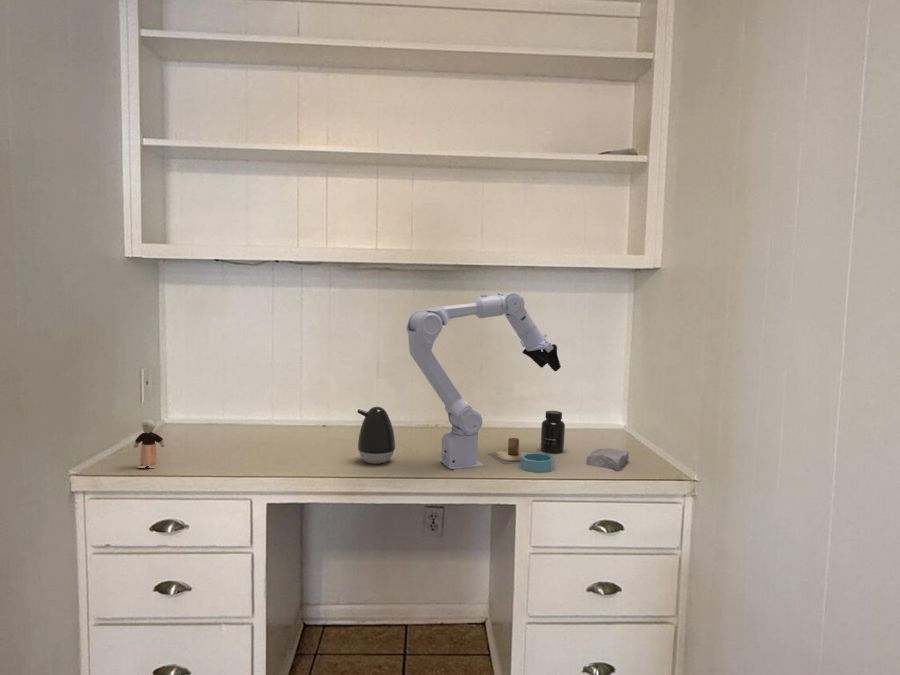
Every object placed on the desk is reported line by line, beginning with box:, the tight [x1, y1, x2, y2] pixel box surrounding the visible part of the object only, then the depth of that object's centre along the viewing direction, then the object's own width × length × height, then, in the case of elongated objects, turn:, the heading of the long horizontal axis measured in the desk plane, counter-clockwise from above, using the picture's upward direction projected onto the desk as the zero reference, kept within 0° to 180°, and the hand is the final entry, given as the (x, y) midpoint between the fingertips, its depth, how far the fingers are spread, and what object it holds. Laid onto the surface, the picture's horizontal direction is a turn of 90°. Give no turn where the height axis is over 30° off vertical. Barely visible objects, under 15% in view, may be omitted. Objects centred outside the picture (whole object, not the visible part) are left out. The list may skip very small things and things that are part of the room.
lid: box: [495, 437, 528, 462], centre depth 174 cm, size 10×10×5 cm
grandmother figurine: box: [132, 418, 166, 466], centre depth 159 cm, size 8×4×13 cm, turn 106°
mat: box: [487, 452, 520, 465], centre depth 175 cm, size 11×11×1 cm
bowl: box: [519, 452, 555, 474], centre depth 165 cm, size 8×8×3 cm
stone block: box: [586, 447, 629, 472], centre depth 171 cm, size 12×5×10 cm
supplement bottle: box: [540, 410, 566, 455], centre depth 182 cm, size 7×7×12 cm
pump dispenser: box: [357, 406, 396, 465], centre depth 169 cm, size 10×10×15 cm
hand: (550, 367), depth 176 cm, fingers open, 7 cm apart
